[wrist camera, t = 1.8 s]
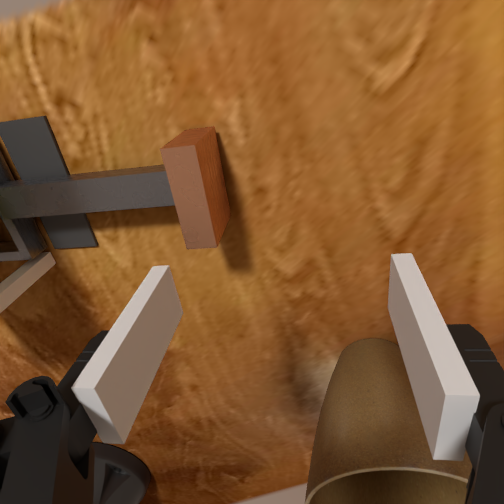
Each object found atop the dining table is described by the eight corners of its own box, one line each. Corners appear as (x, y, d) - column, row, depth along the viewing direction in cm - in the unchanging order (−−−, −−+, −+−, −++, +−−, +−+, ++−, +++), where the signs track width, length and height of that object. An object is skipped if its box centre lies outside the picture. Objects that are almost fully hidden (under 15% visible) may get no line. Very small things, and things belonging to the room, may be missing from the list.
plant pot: (302, 312, 39) (300, 460, 25) (451, 312, 36) (537, 477, 23) (307, 401, 46) (307, 553, 32) (430, 406, 44) (486, 573, 30)
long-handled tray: (235, 235, 34) (222, 271, 29) (-49, 253, 41) (-103, 286, 35) (209, 96, 28) (186, 109, 23) (-121, 142, 34) (-200, 161, 29)
